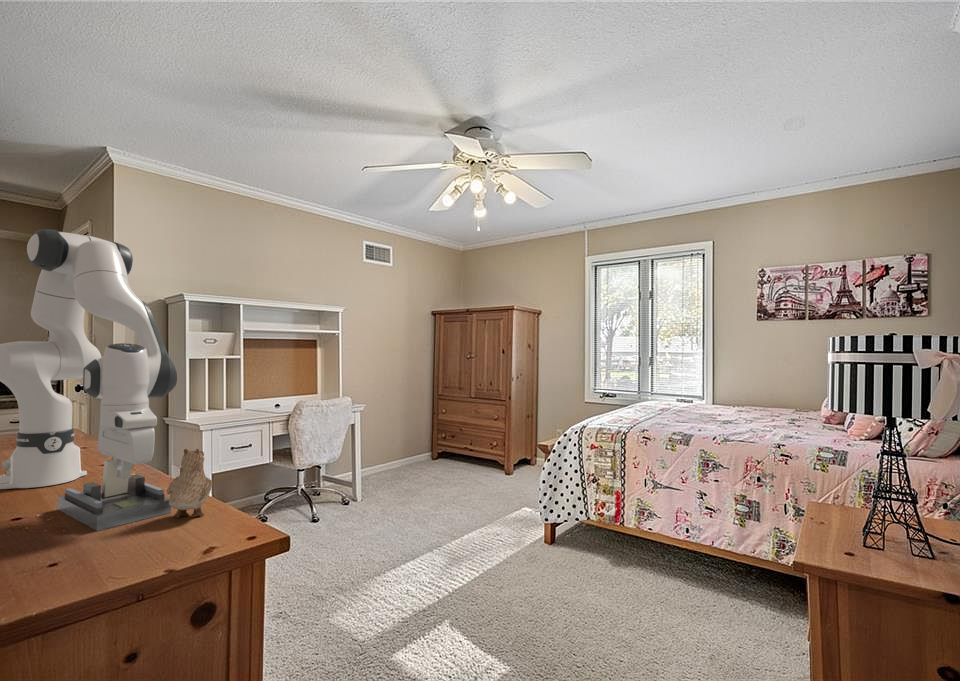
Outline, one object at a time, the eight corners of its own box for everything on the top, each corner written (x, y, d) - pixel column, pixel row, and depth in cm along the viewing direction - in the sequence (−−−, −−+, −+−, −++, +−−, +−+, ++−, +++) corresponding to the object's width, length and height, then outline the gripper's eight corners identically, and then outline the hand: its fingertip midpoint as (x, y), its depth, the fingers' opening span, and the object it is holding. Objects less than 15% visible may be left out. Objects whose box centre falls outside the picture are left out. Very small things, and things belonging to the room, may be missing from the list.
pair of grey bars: (64, 497, 112) (64, 488, 113) (129, 484, 123) (129, 476, 123) (97, 513, 102) (97, 503, 102) (164, 498, 112) (164, 489, 112)
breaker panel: (58, 509, 113) (58, 479, 113) (128, 495, 125) (128, 467, 125) (96, 531, 100) (97, 496, 100) (171, 512, 112) (171, 481, 112)
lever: (100, 497, 111) (103, 460, 110) (124, 492, 115) (127, 456, 114) (103, 500, 110) (106, 462, 110) (128, 495, 114) (131, 458, 113)
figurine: (221, 510, 114) (222, 445, 114) (197, 525, 104) (198, 454, 104) (182, 509, 114) (184, 444, 114) (154, 524, 104) (156, 453, 104)
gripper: (90, 413, 113) (88, 473, 113) (127, 422, 102) (126, 488, 102) (122, 410, 118) (120, 468, 118) (161, 418, 107) (159, 482, 107)
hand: (123, 478), depth 110 cm, fingers closed
